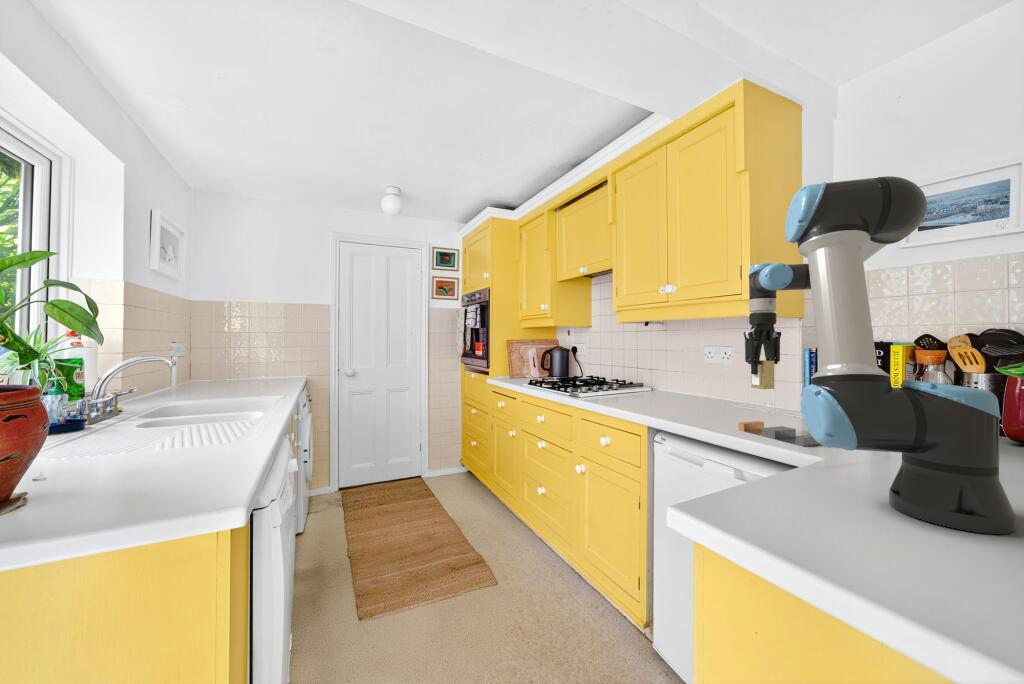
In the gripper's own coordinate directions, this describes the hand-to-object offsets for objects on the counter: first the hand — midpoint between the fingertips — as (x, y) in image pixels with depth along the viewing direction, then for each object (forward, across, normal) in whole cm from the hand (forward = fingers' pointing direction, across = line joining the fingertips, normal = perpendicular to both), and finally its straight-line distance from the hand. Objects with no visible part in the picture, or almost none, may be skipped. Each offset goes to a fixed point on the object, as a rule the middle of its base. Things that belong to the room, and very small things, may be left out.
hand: (762, 384), depth 131 cm
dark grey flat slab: (+16, 0, -6) cm, 17 cm away
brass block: (+1, 0, 0) cm, 1 cm away
